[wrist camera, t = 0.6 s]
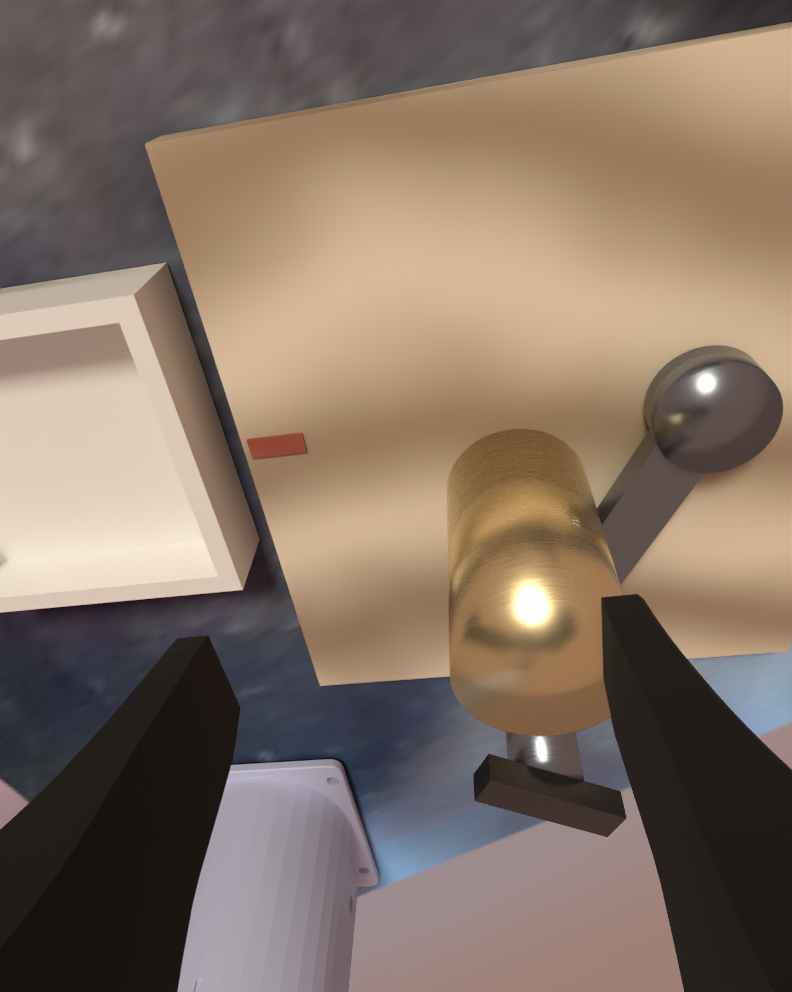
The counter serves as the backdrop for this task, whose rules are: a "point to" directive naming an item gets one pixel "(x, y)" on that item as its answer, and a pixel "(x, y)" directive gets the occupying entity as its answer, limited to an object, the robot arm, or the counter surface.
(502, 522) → the brass cylinder
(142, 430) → the tray
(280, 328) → the crank board
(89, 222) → the counter surface
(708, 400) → the crank
